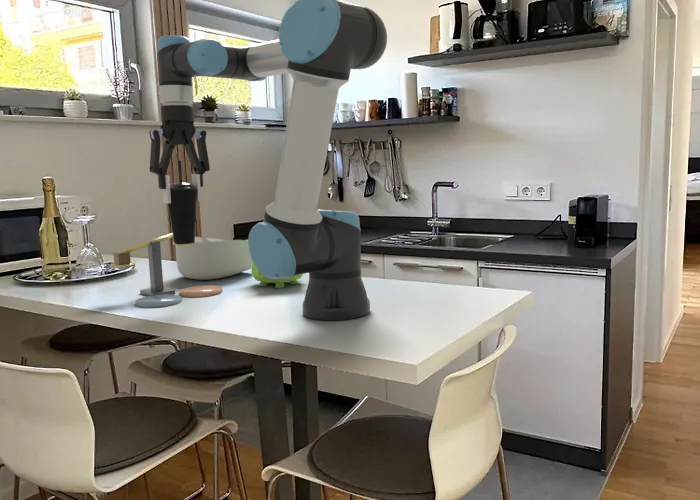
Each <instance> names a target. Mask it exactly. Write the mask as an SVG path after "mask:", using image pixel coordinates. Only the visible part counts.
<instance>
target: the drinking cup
mask: <svg viewBox="0 0 700 500" xmlns="http://www.w3.org/2000/svg"><path fill="white" fill-rule="evenodd" d="M177 164H178V182H172V183H170V194H171V203H167V204H168V205H167V206H168V212H169V216H170V217H169V218H170V223H171V230H172V233H173V238H172V239H173V242H174V243H175V244H190V243H194V242H195V237H196V213H197V211H196V210H197V209H196V208H197V207H196V206H197V201H196V189H197V186H194V185H193V184H192V182H186V181H183V172H182V171H183V170H182V160H177Z"/></svg>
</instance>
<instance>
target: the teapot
mask: <svg viewBox="0 0 700 500" xmlns="http://www.w3.org/2000/svg"><path fill="white" fill-rule="evenodd" d="M245 240H246V241H247V242H248V239H245ZM251 260H252V258H251ZM251 275H252V277H253V278H254V279H255V281H258V282H259V284H258V286H259V287H266V286H268V285H269V283H270V284H271V283H272V284H275V289H276V288H277V289H283V287H284V288H285V283H288V282H289V284H290V285H297V284H299V281H298V280H300V279H301V278H302V277H303V275H304V274H300V275H295V276H292V277H291V278H279V279H272V278H269V277H267V276H265V275H263V274H262V273H261V272H260V271H259V270H258V269H257V267H256V266H255V264H254V262H253V260H252V268H251ZM296 283H297V284H296Z"/></svg>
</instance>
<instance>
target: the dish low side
mask: <svg viewBox="0 0 700 500" xmlns="http://www.w3.org/2000/svg"><path fill="white" fill-rule="evenodd" d="M182 297H183V296H181V295H180V294H164V295H153V296H143V297H141V298H137V299H136V300H135V305H136V306H135V307H140V308H145V309H146V308H148V309H149V308H163V307H169V306H174V305H177V304H179V303H181V302H182V301H183V300H182V299H183V298H182Z"/></svg>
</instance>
